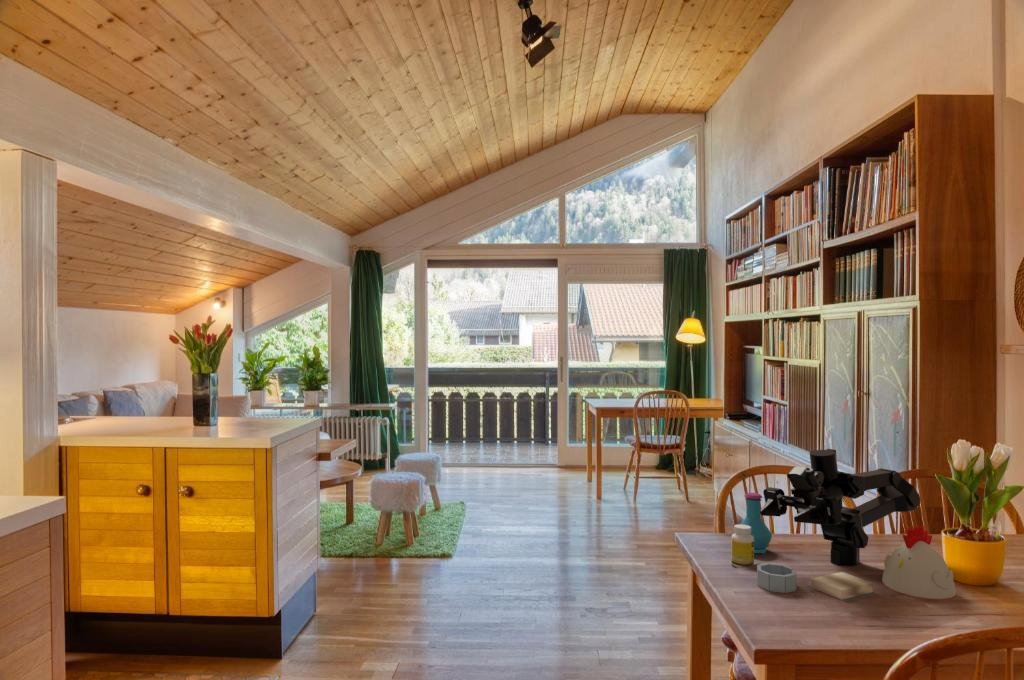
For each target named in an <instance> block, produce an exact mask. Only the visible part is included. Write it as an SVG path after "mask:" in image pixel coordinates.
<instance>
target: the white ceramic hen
mask: <svg viewBox="0 0 1024 680" xmlns="http://www.w3.org/2000/svg"><path fill="white" fill-rule="evenodd" d="M906 533H907V534H902V538H903V541H904V542H903V543H901V544H900V545H899V546H897V548H895V550H893V552H892V553H891V554H887V555H886V556H885V558H884V569H883V573H882V579H881V581H882V584H883V585H884V586H885V587H887V588H888V589H889V590H892V591H894V592H897V593H900V594H903V595H906V596H910V597H915V598H920V599H926V600H939V601H940V600H941V601H942V600H949V599H952V598H955V597H956V596H957V590H956V586H955V582H954V571H953V570H950V568H949V566H948V564H947V563H946V561H945V560H944V558H943V556H942V555H941V554H940V553H939V552H938V551H937V550H936V549H935V547H933V546H932V545H931V543H932V538H933V535H932V534H931V535H930V534H928V533H929V532H928V530H924V527H923V526H920V525H918V526H913V528H909V527H908V528H907V530H906Z"/></svg>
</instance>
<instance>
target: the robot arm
mask: <svg viewBox="0 0 1024 680" xmlns="http://www.w3.org/2000/svg"><path fill="white" fill-rule="evenodd" d="M809 459H810V468H809V467H807V466H799V465H796V466H795V465H794V466H793V468H792V469H790V471H789V472H788V473H787V475H786V477H787V479H788V480H789V481H790V484H791V485H792V487H793V488H791V489H790V493H791V495H785V491H784V490H783V489H782V488H776V487H771V486H770V487H767V488H764V489H763V493H762V494H763V498H764V502H765V504H764V505H763V506H762V508H760V516H763V517H764V516H765V517H781V516H784V515H786V514H787V511H788V507H791V508H794V510H796V515H794V516H793V521H794V522H795V523H801V524H811V525H812V524H814V525H820V528H821V532H822V536H823V540H825V541H830V542H831V543H830V564H833V565H836V566H847V567H848V566H850V567H853V566H854V567H855V566H859V563H860V549H865V548H866V547H867V546H868V544H869V543H868V542H869V536H868V535H867V533H866V532H865V530H864V529H863V528H865V527H867V526H869V525H871V524H873V523H875V522H877V521H878V520H881V519H882V518H884V517H886V516H888V515H891V514H893V513H901V512H902V513H909V512H913V511H915V510H917V508H918V507H919V506H920V503H921V497H920V495H919V494H920V493H918V491H917V489H916V488H915V486H913V485H912V484H911V483H909V481H907V480H906V479H905V478H903V477H902V475H901V474H900V473H899V472H898V471H897V470H893V469H892V470H891V469H886V468H877V469H875V470H870V471H862V472H857V473H850V472H845V471H839V470H838V463H837V462H838V461H837V450H836V449H833V448H826V449H812V450H810V451H809ZM870 490H876V492H877V494H878V495H879V496H876V497H874V498H873V499H871V500H868V501H865V502H864V503H862V504H859V505H857V506H855V507H852V508H850V507H847V506H843V499H844V498H848V499H854V500H856V499H858V498H860V497H863V496H864V495H865V492H867V491H870Z"/></svg>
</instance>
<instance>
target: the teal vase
mask: <svg viewBox="0 0 1024 680" xmlns="http://www.w3.org/2000/svg"><path fill="white" fill-rule="evenodd" d="M744 497H745V502H746V505H745V506H746V510H745V511H746V512H745V513H746V516H745V517H744V519H743V520H742V521H741V523H740V524H742V525H748V526H750V527H751V534H750V535H751V536H753V538H754V553H762V554H765V553H764V552H766V551H767V548H768V547H769V544H770V542H771V539H772V531H770V529H769V528H768V526H767V525H766V524H765V522H764V520H763V519H762V518H761V514H760V510H761V501H762V498H764V496H762V495H761V493H758V492H757V493H756V492H747V493H745V494H744ZM766 553H767V552H766Z"/></svg>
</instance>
